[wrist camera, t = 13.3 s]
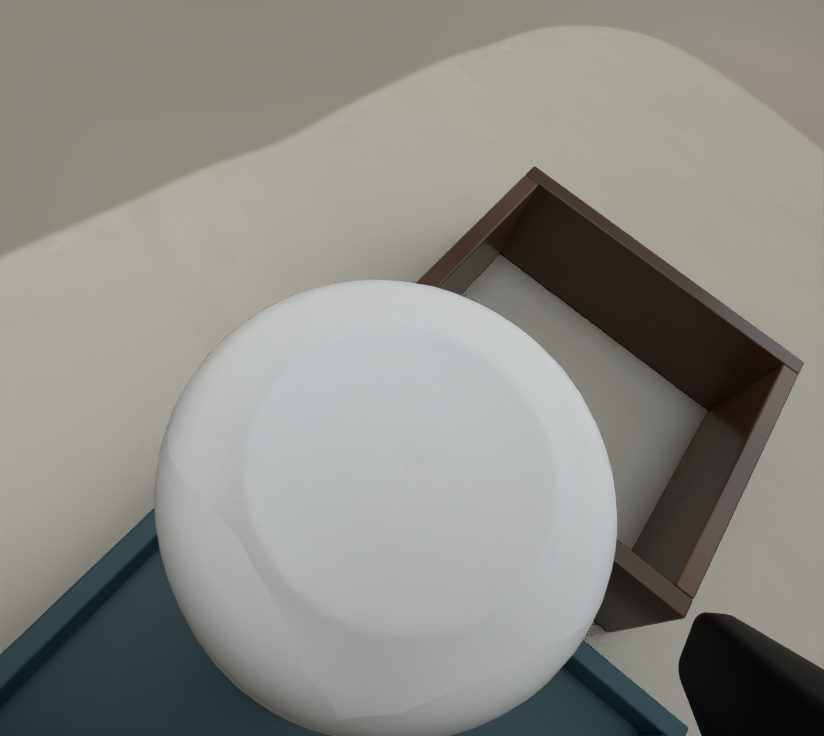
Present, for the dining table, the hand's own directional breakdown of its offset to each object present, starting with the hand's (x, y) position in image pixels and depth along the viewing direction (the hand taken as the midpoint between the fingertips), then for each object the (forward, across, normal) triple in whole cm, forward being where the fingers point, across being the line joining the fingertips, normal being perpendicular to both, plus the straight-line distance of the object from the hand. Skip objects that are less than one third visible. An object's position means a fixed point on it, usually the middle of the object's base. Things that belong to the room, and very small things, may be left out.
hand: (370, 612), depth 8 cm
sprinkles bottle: (+8, 0, +7) cm, 11 cm away
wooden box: (+14, -8, +2) cm, 16 cm away
